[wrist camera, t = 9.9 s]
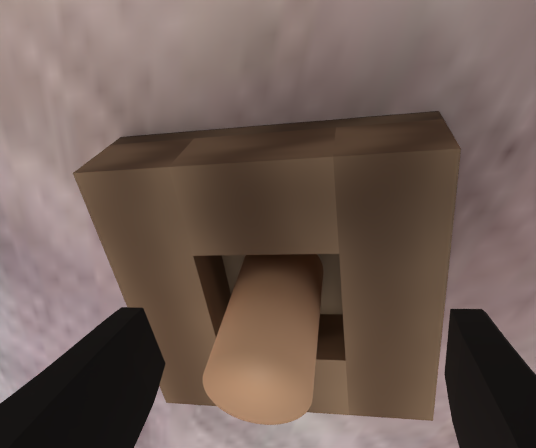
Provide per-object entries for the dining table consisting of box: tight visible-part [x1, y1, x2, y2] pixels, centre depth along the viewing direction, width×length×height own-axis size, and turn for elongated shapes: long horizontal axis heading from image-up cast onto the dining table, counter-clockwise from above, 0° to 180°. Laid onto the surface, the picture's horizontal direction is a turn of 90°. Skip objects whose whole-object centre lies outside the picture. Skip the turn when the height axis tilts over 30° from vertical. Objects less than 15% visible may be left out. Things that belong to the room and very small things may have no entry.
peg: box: [202, 254, 323, 425], centre depth 18 cm, size 4×4×7 cm
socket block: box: [73, 111, 461, 421], centre depth 20 cm, size 14×14×4 cm
